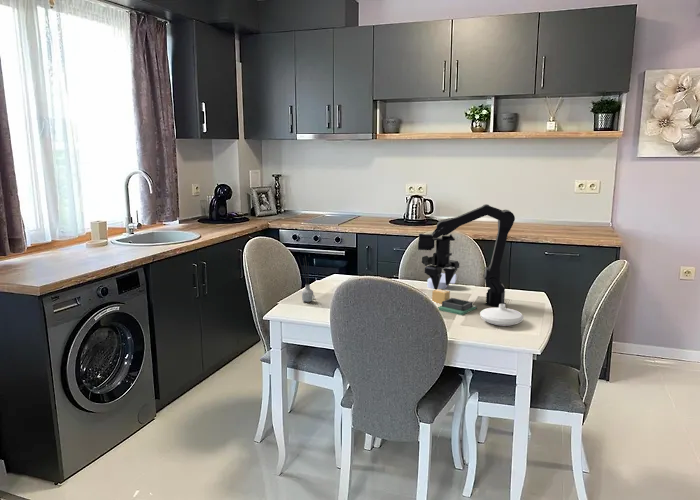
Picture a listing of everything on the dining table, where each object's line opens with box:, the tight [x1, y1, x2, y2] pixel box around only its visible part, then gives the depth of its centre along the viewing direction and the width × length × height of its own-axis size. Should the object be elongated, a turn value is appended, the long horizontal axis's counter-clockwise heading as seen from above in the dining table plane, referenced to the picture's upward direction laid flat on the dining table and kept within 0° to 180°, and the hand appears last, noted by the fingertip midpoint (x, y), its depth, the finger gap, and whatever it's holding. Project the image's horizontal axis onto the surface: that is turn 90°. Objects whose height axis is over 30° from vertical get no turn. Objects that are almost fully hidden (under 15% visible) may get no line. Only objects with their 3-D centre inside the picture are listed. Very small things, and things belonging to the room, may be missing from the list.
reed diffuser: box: [297, 254, 315, 303], centre depth 232 cm, size 10×7×20 cm
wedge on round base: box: [426, 272, 457, 290], centre depth 257 cm, size 9×7×13 cm
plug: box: [431, 289, 451, 305], centre depth 232 cm, size 6×4×5 cm, turn 50°
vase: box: [479, 304, 525, 327], centre depth 206 cm, size 16×16×7 cm
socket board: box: [438, 297, 477, 316], centre depth 223 cm, size 11×12×3 cm
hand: (441, 287), depth 232 cm, fingers open, 9 cm apart
